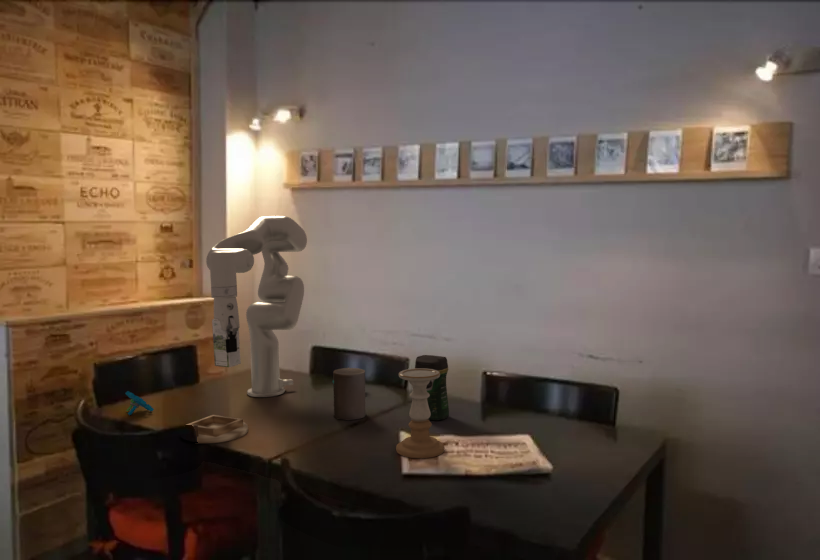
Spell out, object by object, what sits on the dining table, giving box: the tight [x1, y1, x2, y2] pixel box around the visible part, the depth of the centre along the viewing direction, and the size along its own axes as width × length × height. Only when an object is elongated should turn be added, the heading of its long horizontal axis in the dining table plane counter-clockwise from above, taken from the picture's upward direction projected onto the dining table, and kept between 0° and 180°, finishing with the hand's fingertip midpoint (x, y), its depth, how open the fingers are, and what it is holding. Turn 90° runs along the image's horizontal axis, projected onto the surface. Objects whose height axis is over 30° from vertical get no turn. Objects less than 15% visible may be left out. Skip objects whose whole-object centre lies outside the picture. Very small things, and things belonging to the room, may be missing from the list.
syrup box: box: [211, 318, 242, 368], centre depth 208 cm, size 6×6×14 cm
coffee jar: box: [414, 354, 450, 421], centre depth 204 cm, size 10×8×19 cm
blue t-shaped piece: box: [125, 390, 155, 416], centre depth 214 cm, size 11×6×10 cm
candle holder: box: [395, 368, 445, 459], centre depth 174 cm, size 12×12×20 cm
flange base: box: [185, 414, 249, 444], centre depth 192 cm, size 18×18×4 cm
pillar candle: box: [332, 366, 367, 421], centre depth 207 cm, size 10×10×15 cm
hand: (226, 349), depth 209 cm, fingers closed on syrup box, 7 cm apart
